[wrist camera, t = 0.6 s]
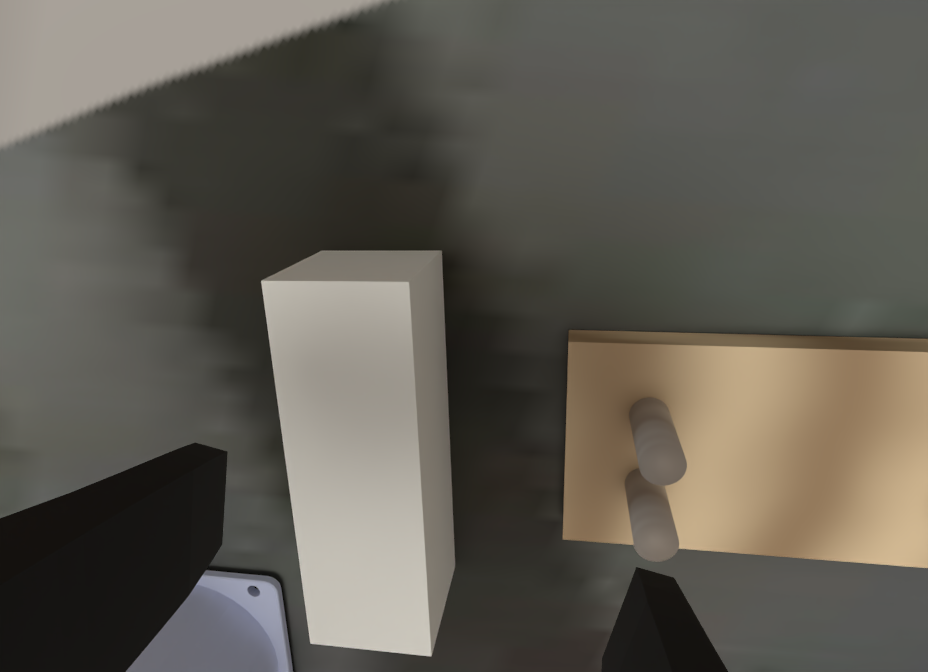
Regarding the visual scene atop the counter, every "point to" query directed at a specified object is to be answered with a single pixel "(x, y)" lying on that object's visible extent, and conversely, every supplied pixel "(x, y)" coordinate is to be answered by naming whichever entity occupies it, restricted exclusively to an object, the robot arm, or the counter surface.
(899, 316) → the counter surface
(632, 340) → the peg stand
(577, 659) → the counter surface
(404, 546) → the white rectangular block
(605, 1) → the counter surface
